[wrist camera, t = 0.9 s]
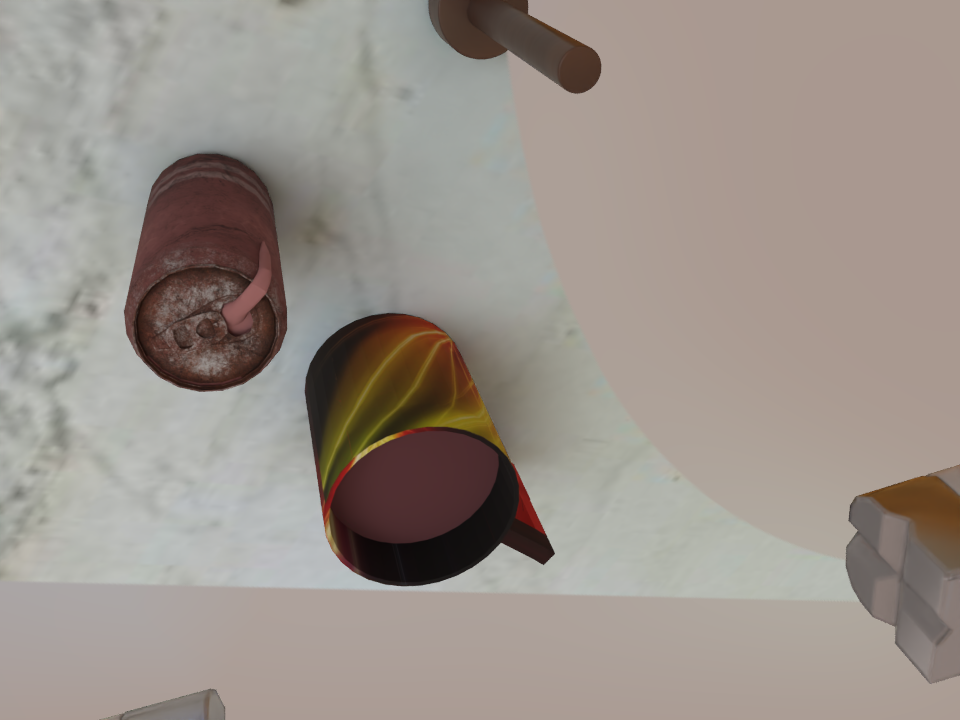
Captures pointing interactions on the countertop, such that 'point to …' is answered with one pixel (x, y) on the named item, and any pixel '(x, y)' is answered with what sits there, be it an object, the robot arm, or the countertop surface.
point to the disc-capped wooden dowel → (515, 39)
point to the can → (207, 276)
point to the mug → (411, 457)
